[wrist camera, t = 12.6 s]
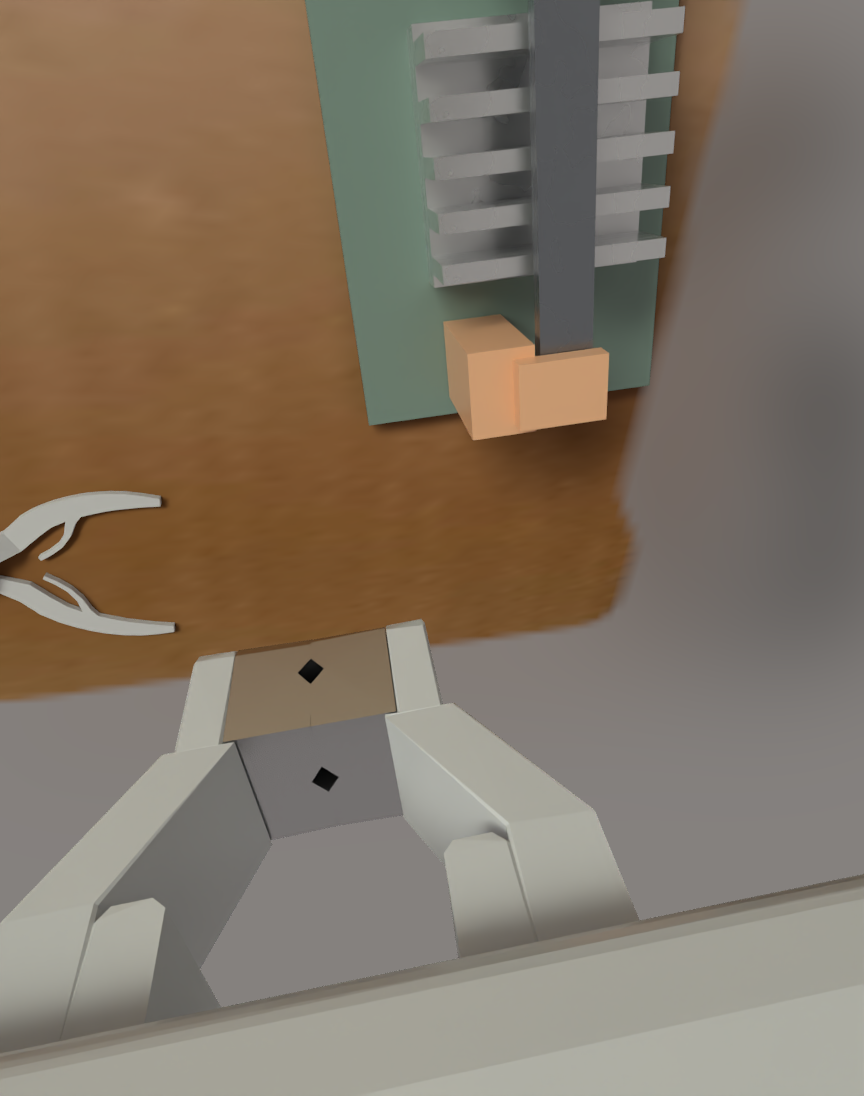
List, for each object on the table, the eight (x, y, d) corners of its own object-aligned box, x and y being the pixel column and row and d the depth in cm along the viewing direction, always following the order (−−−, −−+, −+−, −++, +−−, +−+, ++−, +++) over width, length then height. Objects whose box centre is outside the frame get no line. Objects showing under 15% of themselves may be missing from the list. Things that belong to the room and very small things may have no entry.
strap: (504, -176, 22) (513, -194, 21) (609, -184, 22) (624, -201, 21) (522, 394, 31) (529, 401, 30) (596, 383, 32) (606, 390, 31)
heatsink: (390, -140, 26) (405, -195, 22) (642, -160, 26) (703, -216, 22) (428, 281, 33) (444, 299, 29) (622, 257, 34) (663, 271, 30)
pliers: (172, 643, 42) (-99, 647, 39) (176, 628, 43) (-85, 630, 41) (156, 502, 37) (-155, 494, 34) (161, 489, 38) (-138, 481, 36)
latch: (443, 321, 34) (472, 360, 28) (556, 306, 35) (609, 341, 29) (449, 396, 37) (477, 448, 30) (556, 381, 37) (606, 429, 31)
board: (276, -189, 25) (275, -201, 24) (684, -217, 26) (696, -230, 26) (367, 419, 38) (369, 425, 37) (642, 380, 39) (649, 385, 38)
